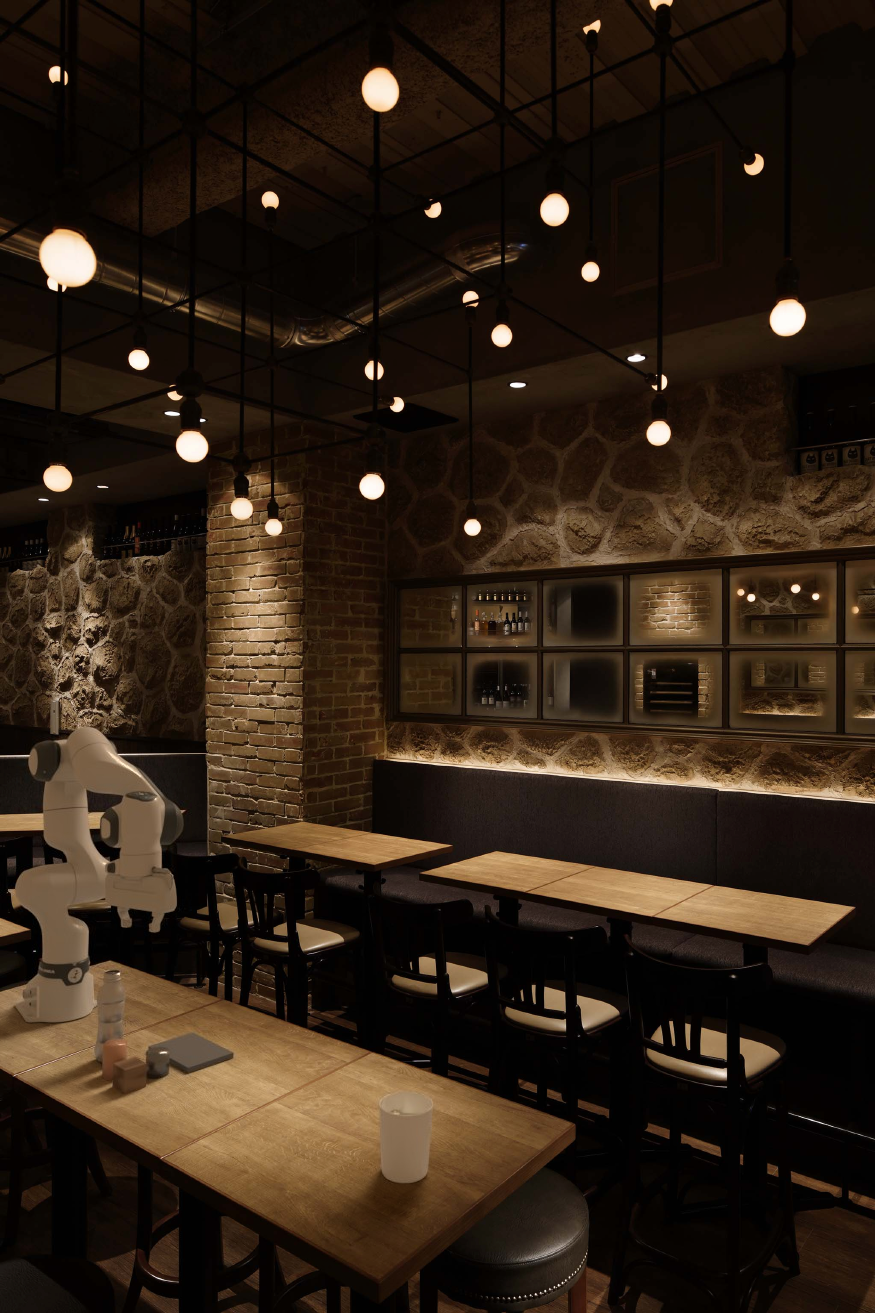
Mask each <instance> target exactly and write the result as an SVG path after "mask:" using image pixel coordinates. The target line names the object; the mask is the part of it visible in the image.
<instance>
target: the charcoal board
mask: <svg viewBox="0 0 875 1313" xmlns="http://www.w3.org/2000/svg"><path fill="white" fill-rule="evenodd" d="M154 1047H167V1048H169V1049H170V1057H169V1065H172V1066H174V1067H176V1068H177V1069H179V1070H181V1071H183V1072H185V1073H187V1074H190V1073H193V1072H197V1071H199V1070H201V1069H204V1068H208V1067H211V1066H214V1065H217V1064H219V1063H223V1062H225V1061H228V1060H231V1059H233V1058H234V1054H235V1053H234V1052H233V1051H231V1050H229V1049H227V1048H226V1047H223V1046H222V1045H219V1044H218V1043H216V1042H213V1041H211V1040H210V1039H208V1038H205V1037H203V1036H201V1035H198V1034H197V1033H195V1032H190V1033H187V1034H184V1035H180V1036H177V1037H174V1038H170V1039H167V1040H164V1041H160V1042H157V1043H155V1044H154V1043H153V1044H150V1045H148V1047H147V1048H148V1049H147V1050H149V1049H151V1048H154ZM216 1063H217V1064H216ZM213 1064H214V1065H213Z"/></svg>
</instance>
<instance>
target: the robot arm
mask: <svg viewBox="0 0 875 1313" xmlns="http://www.w3.org/2000/svg"><path fill="white" fill-rule="evenodd" d="M28 767H29V768H28V769H29V772H30V775H31V776H32V778H34V779H35V780H36V781H40V782H44V783H45V784H44V789H43V790H44V791H43V797H42V798H43V799H42V800H43V801H42V810H43V811H42V814H43V816H42V818H43V838H44V840H45V842H46V844H47V845H48V846H49V847H52V848H54V849H56V850H59V851H61V852H63V854H64V855H65V857H66V862H63V863H52V864H44V865H39V866H36V867H32V868H29V869H26V870H24V871H23V872H21V873H20V875H19V877H18V878H17V880H16V883H15V887H14V893H15V897H16V900H17V901H18V903H19V904H20V905H21V906H22V907H23V908H24V909H26V910H28V911H29V912H30V913H32V915H33V916H34V917H35V918H36V919H37V921H38V923H39V926H40V929H41V935H42V958H39V959H38V960H39V962H38V963H39V965H38V970H37V974H36V975H35V976H34V977H32V979H30V980H29V981H28V982H27V984H26V986H25V989H23V990H22V999H19V1000H17V1001H16V1002H15V1005H14V1007H15V1008H16V1010H17V1011H18V1012H19V1014H20V1016H22V1019H24V1021H25V1022H26V1023H62V1022H63V1023H64V1022H70V1021H75V1020H78V1019H81V1018H84V1017H86V1016H88V1015H90V1013H92V1012H93V1009H94V1008H95V1007H97V999H95V993H94V989H95V988H94V975H93V974H92V973H90V972H89V971H90V964H91V961H90V956H89V939H90V938H89V933H90V932H89V927H88V925H87V924H86V923H85V921H83V920H82V919H79V918H76V917H74V916H71V915H69V912H68V908H69V906H72V905H78V904H79V905H80V904H85V903H94V902H97V901H99V900H102V899H105V902H106V904H107V905H108V906H113V907H117V913H118V916H119V918H120V927H122V928H125V929H126V928H131V927H132V925H133V924H132V923H133V919H132V918H131V917H130V914H129V911H130V909H131V910H132V909H133V910H137V911H138V910H140V911H146V912H151V917H153V918H152V922H151V923H149V924H148V927H149V929H148V931H149V932H151V933H158V932H160V930H161V922H162V921H163V918H164V916H165V914H166V913H170V912H174V911H175V909H176V907H177V905H178V904H177V903H178V902H177V901H178V900H177V888H176V883H175V879H174V874H172V872H171V871H170V869H168V868H162V866H163V865H162V859H163V858H162V857H163V856H162V855H163V854H162V852H163V851H162V849H163V848H162V845H163V846H164V845H166V846H168V845H171V844H172V843H174V842H175V841H176V839H178V838H179V836H180V835H181V833H182V832H183V830H184V825H185V824H184V817H183V816H184V815H183V813H182V811H181V809H180V808H179V806H178V805H176V804H175V803H174V802H173V801H172V800H169V799H168V798H167V797H166V796H165V794H163V792H161V790H160V788H158V787H157V785H155V783H154V782H153V781H152V780H151V778H150V777H149V776H148V775H147V774H146V773H145V772H144V771H143V770H141V768H139V767H137V766H135V765H134V764H132V763H130V762H128V761H127V760H125V759H124V758H123V757H121V756H120V755H119V754H118V749H117V747H116V745H115V743H114V742H113V741H112V740H109V739H108V738H107V737H106V736H105V735H104V734H103V733H102V732H101V731H100V730H98V729H97V728H95V727H91V726H84V727H83V726H82V727H80V728H78V729H76V730H73V732H71V733H70V734H69V736H68V738H67V739H59V740H49V739H48V740H43V741H41V742H38V743H36V744H34V746H32V747H31V749H30V753H29V756H28ZM87 791H89V792H92V793H97V794H109V795H116V796H117V795H118V796H122V800H121V802H120V803H119V804H116V805H114V806H111V807H109V808H108V809H106V810H105V812H104V813H103V814H102V815H101V816H100V819H99V820H100V821H99V835H100V839H101V840H102V842H104V843H105V845H107V846H108V847H111V848H115V849H118V848H119V849H120V851H119V858H117V859H115V860H112V861H109V860H108V859H106V858H105V857H104V856H103V855H102V854H100V852H99V851H98V850H97V848H96V846H95V844H94V842H93V839H92V836H91V831H90V823H89V809H88V807H89V806H88V804H89V803H88V797H87V796H88V794H87Z"/></svg>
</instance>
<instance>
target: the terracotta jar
mask: <svg viewBox="0 0 875 1313" xmlns="http://www.w3.org/2000/svg"><path fill="white" fill-rule="evenodd" d="M127 1055H128V1041H127V1039H124V1038H123V1039H112V1040H108V1041H106V1042H104V1043H103V1063H102V1062H101V1063H102V1064H101V1065H102V1067H101V1078H102V1079H103V1080H106V1081H113V1063H116V1062H119V1061H123V1060H126V1059H128V1058H127V1057H128V1056H127Z"/></svg>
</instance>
